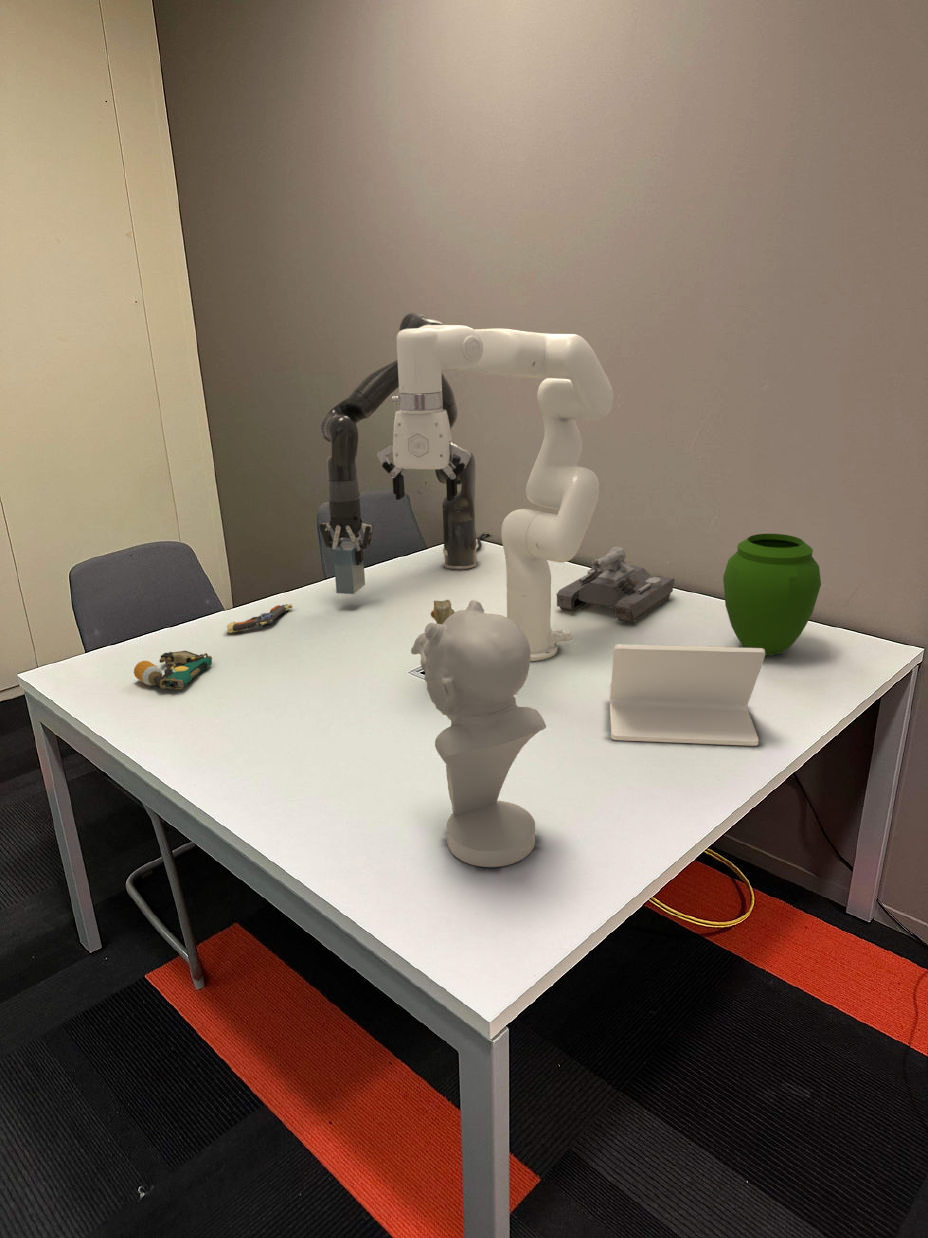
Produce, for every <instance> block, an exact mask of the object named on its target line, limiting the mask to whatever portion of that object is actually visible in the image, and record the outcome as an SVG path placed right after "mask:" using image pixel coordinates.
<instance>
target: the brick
mask: <svg viewBox="0 0 928 1238" xmlns="http://www.w3.org/2000/svg"><path fill="white" fill-rule="evenodd" d="M355 551H356V548H355V546H354V544H353V543H352V541H346V540H344V541H343V542H341V544H340V545H339V546H337V547H336V548H334V549H332V553H333V554H332V555H333V565H334V567H333V568H334V580H335V590H336V594H343V595H345V594H346V595H355V594H356V593H357V592H359V591H360V590H361V589H362V588H363V587H365V586H366V577H365V576H366V575H365V562H364V560H363V562H362V564H360V565H356V555H355Z"/></svg>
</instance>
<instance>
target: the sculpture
mask: <svg viewBox="0 0 928 1238" xmlns="http://www.w3.org/2000/svg"><path fill="white" fill-rule="evenodd" d="M455 612H456V611H455V609H453V608H452V602H451V601H450V599H445V600H433V610H431V612H430V617H431V618H432V619H433V620H434V621H435V622H436V623H435V624H443V623H444V622H445V620H446V619H447V618H448V617H450V616H451V615H452V614H453V613H455Z"/></svg>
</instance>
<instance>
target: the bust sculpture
mask: <svg viewBox="0 0 928 1238" xmlns="http://www.w3.org/2000/svg"><path fill="white" fill-rule="evenodd" d="M454 612H455V613H453V614H452V615H451V616H450V617H448V618H447V619H446V620H445V622H444V623H443V624H436V623H435V622H430V623H428V624H427V625H426V626H425V628H424V632H423V633H421V634H419V635H418V636H417V637H416V638H415V640H414V642H413V645H412V647H411V649H410V654H412V655H420V667H421V669H422V670H423V672H424V681H425V682H426V690H427V693H428V696H429V698H430V701H431V702H432V704H434V706H435V708H436V710H438V711H439V712H440V713H441V714H442V716H446V717H447V718H448V719H449V720H450V726H448V727H446V728H445V729H443V730H442V731H441V732H440V733H439V734H438V735H436V738H435V741H434V748H435V749H436V752H437V753H438V755H439V757H440V758H441V760H442V761H443V762H444V763H445V771H446V781H447V790H448V796H449V800H450V803H451V810H452V813H451V814H450V815H449V817H448V819H447V822H446V844H447V847H448V849H449V851H450V852H451V854H452V855H453V856H454V857H456V858H457V859H459V860H460V861H462V862H463V863H466V864H469V865H471V866H476V867H483V868H498V867H505V866H509V865H512V864H517V862H520V861H521V860H523V859H525V858H527V856H528V855H530V854H531V852H532V851H533V849H535V848H534V847H535V845H536V822H535V821H536V820H535V819H534V817H533V816H532V814H531V813H530V812H529V811H528V810H526V809H525V808H524V807H522V806H520V805H517V804H515V803H513V802H509V801H504V800H499V796H500V793H501V790H502V788H503V785H504V783H505V780H506V778H507V776H508V773H509V771H510V769H511V768H512V765H513V763H514V761H515V760H516V759H517V756H518V755H519V753H520V752H521V750H522V749H523V748H524V747H525V745H526V744H527V743H528V742H529V741H530V740H531V739H532V738H533V737H535V735H537V734H538V733H539V732H541V731H544V730H545V729H546V728H547V725H546V723H545V720H544V718H543V717H542V714H541V713H540V712H539V711H538V710H537V709H535V708H533V707H530V706H518V705H517V701H516V699H517V698H516V696H515V695H516V694H517V693H519V691H521V689H522V688H523V686H524V684H525V683H526V680H527V678H528V675H529V669H530V666H531V661H530V656H531V655H530V653H531V652H530V646H529V643H528V640H527V638H526V636H525V634H524V633H523V632H522V630H521V629H520V628H519V627H518V626H517V625H516V624H515V623H514V622H513V621H512V620H511V619H509V618H507V616H504V615H503V614H502V615H501V614H496V613H485V609H484V607H483V605H482V603H481V602H480V601H478V600H473V599H472V600H470V601H469V603H468V605H467V607H466V609H460V610H457V611H454Z"/></svg>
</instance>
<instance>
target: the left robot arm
mask: <svg viewBox="0 0 928 1238" xmlns="http://www.w3.org/2000/svg"><path fill="white" fill-rule="evenodd" d="M426 325H445V324H444V323H442V322H441V321H440V320H437V319H435V318H433V317H430V316H428V315H426V314H423V313H419V312H410V313H407V314H406V315H405V316H403V318H402V319H401V322H400V324H399V329H398V333H399V332H400V331H401V330H404V329H414V328H420V327H422V326H426ZM441 375H442V400H443V410H446V411H447V415H448V420H449V425H450V431H452V429H453V428H454V426H455V424H456V422H457V418H458V408H457V403H456V397H455V395H454V394H455V393H454V391H453V389H452V387H451V385H450V383H449V381H448V380H447V378H446V376H445V375H444V373H443V372H442V371H441ZM397 390H399V379H398V360H397V359H396V360H394V361H392V362H391V363H388V364H386V365H384V366H382V367H380V368H378V369H376V370H374V371H373V372H371V373H369V374H368V375H367V376H366V377H365V378H364V379H363V380H362V381H361V382H360V383H359V384H358V385H357V386H356V387H355V389H354V390H353V391H352V392H351V393H350V394H349V395H348V396H347V397H346V398H343V400H341V401H340V402H339V403H337V404H336V405H334V406H333V407H332V408H330V409H329V410H328V411H327V413H326V414H325V415H324V416H323V417H322V419H321V421H320V424H319V433H320V435H321V437H322V438H323V439H324V440H325V441H327V442H329V443H331V449H330V451H331V453H330V455H329V456H328V457H327V458H326V472H327V496H328V508H329V517H330V519H329V521H327V522H326V521H323V522H322V523H320V524H319V526H318V527H319V530H320V533H321V537H322V539H323V543H324V546H325V547H326V548H331V549H332V550H333V549H334V548H336V547H337V546H339V545H340V544H342V540H343V539H344V538H346V539H350V542H352V543H353V544H354V546H355V548H356V551H355V555H356V565H360V564H362V562H363V561H364V560H365V558H364V550H366V549H367V548H369V547H370V546H371V543H372V539H373V538H372V537H373V531H374V524H373V523H370V524H369V523H364V521H363V520H362V518H361V517H362V515H361V514H362V511H361V501H360V500H361V498H360V496H361V494H360V487H359V481H358V474H357V472H358V471H357V462H356V461H357V455H358V447H359V429H358V428H359V427H358V425H357V424H358V423H359V422H360V421H362V420H366V419H369V418H371V416H373V415H374V414H375V413H376V411H377V410H378V409H379V408H381V406H382V405H383V404H384V403H385V402H386V401H387V399H389V397H391V395H392V394H393V393H394V392H396V391H397ZM469 452H470V453H471V457H470V459H469V461H468V464H467V465H466V468H465V469H464V470H463V471H462V472H461V473H460V474H459V475H458V476H457V486H458V485H460V490H459V491H457V495H456V496H455V498H454V499H453V500H452V501H448V500H447V496H445V497H443V498H442V500H441V501H442V503H441V505H442V507H441V508H442V527H443V528H442V529H443V532H442V533H443V548H442V554H443V558H444V561H443V564H444V566H443V567H445V568H447V569H449V570H457V571H459V570H460V571H461V570H469V569H473V568H475V567H476V566H477V562H478V561H477V559H478V557H477V554H478V552H479V550H480V549H481V547H482V546H483V545H482V542H481V539H482V538H483V537H484V536H486V537H490V533H488V534H486V535H485V534H484V533H485V532H482V534H480V536H478V537H477V532H476V509H475V507H476V506H475V505H476V504H475V502H476V458H475V455H474V454H473V452H471V451H469ZM460 460H461V458H460V457H459V456H458V455H456V454H454V453H453V459H452V462H451V463H452V464H453V465H454V466H455V467H457V466H458V465H459V463H460ZM434 472H435V476H436V479H437V480H438V482H439V483H441V484H444V485H446V480H447V479H448V475H447V474H446V473H445V472H444V471H443V469H434ZM361 529H362V532H363V533H364V534H363V540H362V536H361V533H360V530H361ZM331 530H333V532H334V535H333V536H332V533H331ZM477 544H478V546H477Z"/></svg>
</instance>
